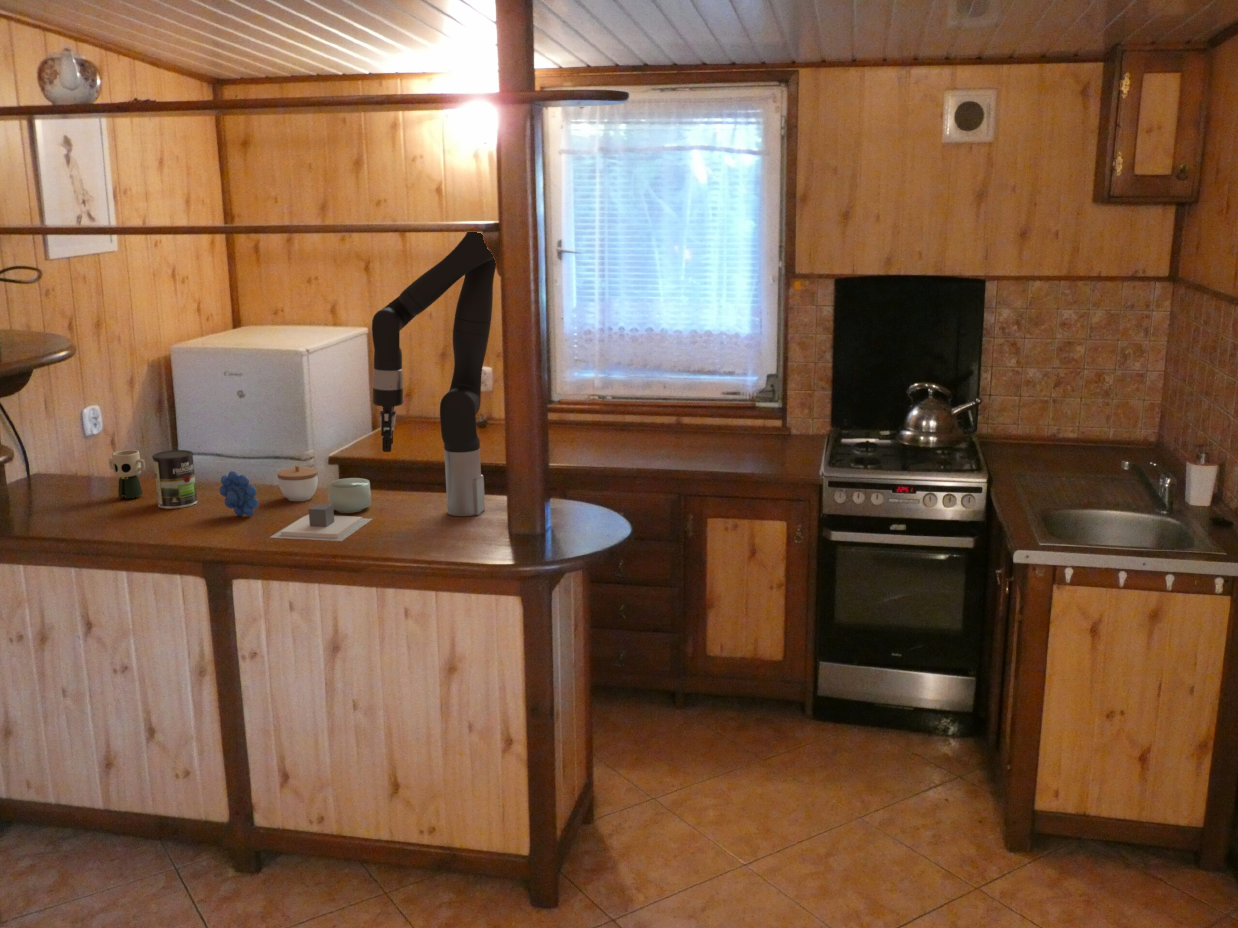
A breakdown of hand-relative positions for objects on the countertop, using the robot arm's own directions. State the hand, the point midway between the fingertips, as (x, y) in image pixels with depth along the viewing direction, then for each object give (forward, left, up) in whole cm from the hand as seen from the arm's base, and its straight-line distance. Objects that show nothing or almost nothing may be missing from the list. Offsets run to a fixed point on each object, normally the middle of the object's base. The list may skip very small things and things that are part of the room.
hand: (387, 447), depth 290 cm
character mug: (+80, -5, -18) cm, 82 cm away
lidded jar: (+32, -11, -18) cm, 38 cm away
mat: (+13, +15, -18) cm, 27 cm away
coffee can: (+63, -1, -18) cm, 65 cm away
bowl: (+13, -2, -18) cm, 22 cm away
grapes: (+40, +8, -18) cm, 44 cm away
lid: (+13, +15, -18) cm, 26 cm away
